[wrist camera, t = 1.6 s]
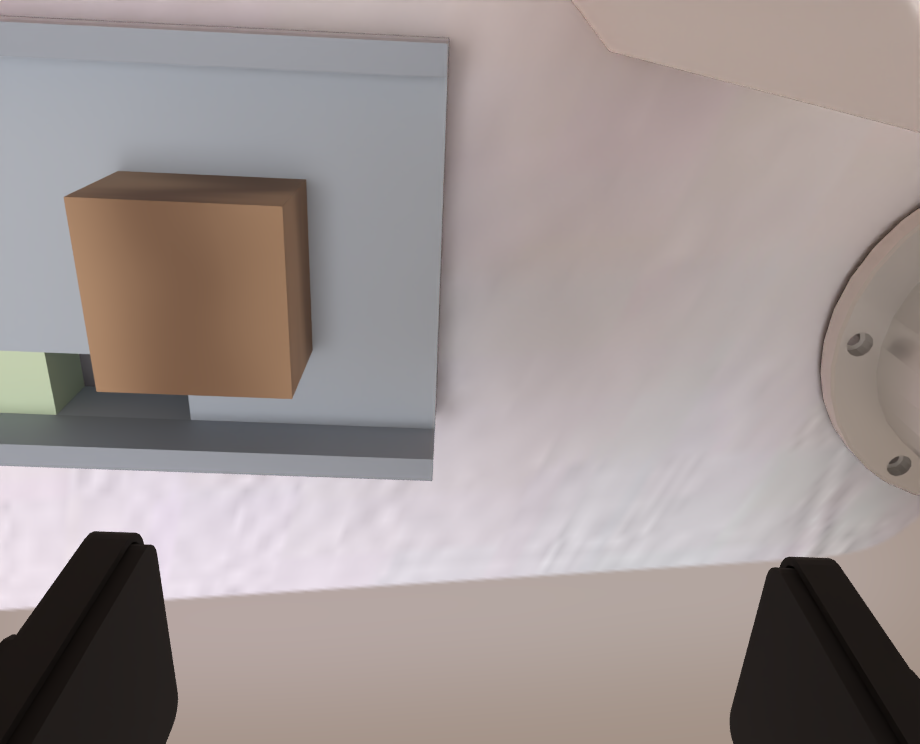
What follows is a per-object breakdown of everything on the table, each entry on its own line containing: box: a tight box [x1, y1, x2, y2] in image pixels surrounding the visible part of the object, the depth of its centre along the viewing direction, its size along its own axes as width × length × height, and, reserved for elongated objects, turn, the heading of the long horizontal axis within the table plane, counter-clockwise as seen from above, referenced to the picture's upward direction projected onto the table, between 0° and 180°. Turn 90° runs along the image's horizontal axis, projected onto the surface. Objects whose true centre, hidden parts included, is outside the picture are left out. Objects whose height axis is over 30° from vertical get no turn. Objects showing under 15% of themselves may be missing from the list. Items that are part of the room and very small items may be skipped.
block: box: [64, 171, 313, 399], centre depth 22 cm, size 6×6×4 cm
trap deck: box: [0, 16, 449, 481], centre depth 24 cm, size 22×13×4 cm, turn 87°
